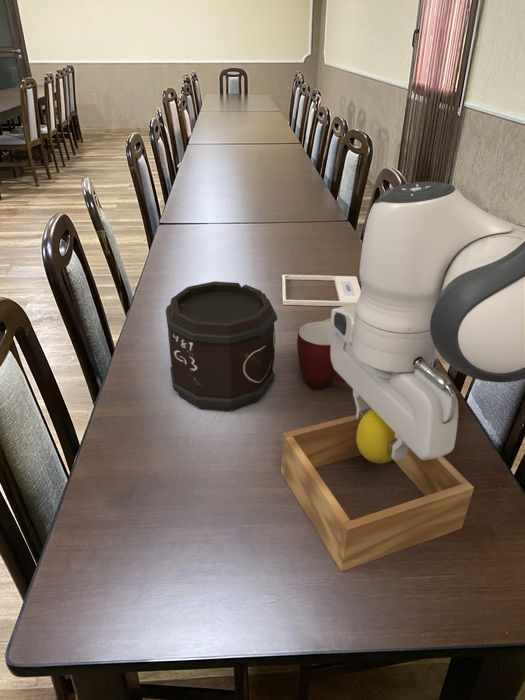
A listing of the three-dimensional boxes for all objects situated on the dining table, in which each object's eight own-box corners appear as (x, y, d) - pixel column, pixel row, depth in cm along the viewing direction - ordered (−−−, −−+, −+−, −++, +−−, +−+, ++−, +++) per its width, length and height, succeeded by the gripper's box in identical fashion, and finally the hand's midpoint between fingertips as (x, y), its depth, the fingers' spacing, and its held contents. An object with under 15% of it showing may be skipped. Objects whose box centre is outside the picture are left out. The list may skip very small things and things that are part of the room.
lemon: (351, 472, 65) (357, 420, 61) (355, 443, 69) (361, 393, 65) (398, 480, 64) (408, 428, 60) (399, 450, 68) (408, 399, 64)
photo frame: (364, 302, 118) (282, 300, 118) (364, 306, 118) (282, 304, 119) (356, 275, 130) (282, 273, 130) (355, 279, 131) (282, 278, 131)
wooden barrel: (279, 358, 99) (282, 280, 91) (270, 419, 84) (273, 331, 76) (183, 351, 101) (178, 274, 93) (157, 409, 86) (149, 323, 77)
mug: (362, 384, 93) (369, 334, 88) (342, 407, 87) (348, 355, 82) (308, 365, 98) (312, 316, 92) (286, 386, 92) (288, 335, 87)
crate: (461, 528, 66) (474, 487, 63) (341, 572, 61) (347, 529, 57) (385, 443, 80) (391, 405, 76) (280, 472, 74) (282, 433, 71)
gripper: (485, 382, 50) (458, 489, 57) (369, 296, 67) (358, 387, 74) (430, 397, 48) (408, 506, 55) (324, 304, 65) (317, 397, 72)
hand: (379, 437), depth 65 cm, fingers closed on lemon, 5 cm apart
